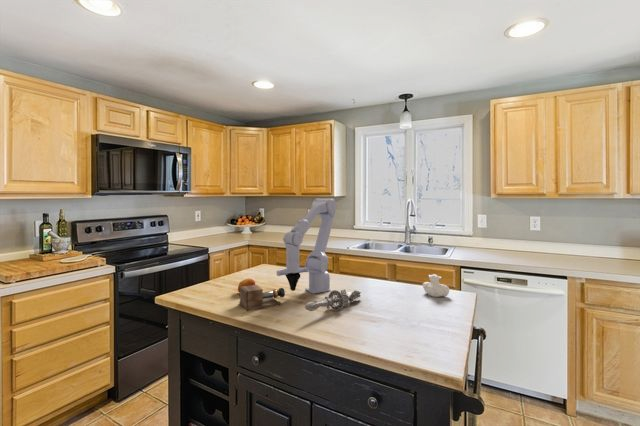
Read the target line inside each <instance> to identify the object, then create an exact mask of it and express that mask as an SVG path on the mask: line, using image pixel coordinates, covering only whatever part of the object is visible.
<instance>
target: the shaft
mask: <svg viewBox="0 0 640 426" xmlns="http://www.w3.org/2000/svg"><path fill="white" fill-rule="evenodd" d="M285 293H286V291H285V289H284V288H283V287H279V288H278V289H273V290H271V291H265V292H263V299H265V298H271V297H273V298H274V299H278V298H284V297H285V295H286V294H285Z"/></svg>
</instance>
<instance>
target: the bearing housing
mask: <svg viewBox="0 0 640 426" xmlns="http://www.w3.org/2000/svg"><path fill="white" fill-rule="evenodd" d="M263 291H264V290H263V288H262V287H261V286H259V285H258V284H255V285H250V286H243V287H240V292H239V299H240V300H239V305H240V306H241V307H242V308H243V309H244V310H245V312H252V311H258V310H262V309H263V310H264V309H267V308H269V309H270V308H273V307H277V306H281V303H280V301H278V300H276V298H274V297H271V298H265V299H263V293H264V292H263Z"/></svg>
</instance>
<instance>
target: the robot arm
mask: <svg viewBox="0 0 640 426" xmlns="http://www.w3.org/2000/svg"><path fill="white" fill-rule="evenodd" d="M337 206H338V205H337V204H336V200H335V198H318V197H317V198H315V199H314V200H313V202H312V203H311V208H310V209H309V210H308V212H307V214H306V215H305V217H303V219H298V221H297V223H296V224H295V225H294V226H293V227H292V228H291V230H290V231H287V232H286V233H285V234H284V236H283V239H282V240H283V243H284V247H285V249H286V250H285V251H286V252H285V253H286V257H285V258H286V260H285V261H286V263H285V264H286V266H285V267H286V268H284V269H279V270H276V276H277V277H280V276H285V278H286V279H287V281H288V284H289V287H290V288H289V289H290V291H292V292H293V291H296V289H297V288H296V287H297V285H298V283H299V280H300V278H301V274H302V273H308V287H306V288H305V290H306V291H308V292H310V293H311V294H314V295H315V294H318V293H319V294H320V293H326V292H331V289H330V285H331V284H330V282H331V281H330V279H331V278H330V277H331V276H330V274H329V272H328V267H329V257H328V256H327V254H326V251H327V246H328V242H329V239H330V235H331V230H332V227H333V222H334V218H335V215H336V212H337V211H336V210H337ZM317 216H319V217H320V218H321V222H320V225H319V229H318V230H319V231H318V234H317V238H316V241H315V244H314V245H315V246H314V249H313V250H312V251H311V252H309V253H308V256H307V258H306V260H305V263H304V265H305V266H304V267H301V266H300V253H301V252H300V245H301V244H302V243H303V241H304V240H303V239H304V238H305V235H306V233H307V232H308V230H309V229H310V228H311V223H312V222H313V221H314V220H315V218H316V217H317Z"/></svg>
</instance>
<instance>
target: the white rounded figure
mask: <svg viewBox="0 0 640 426" xmlns="http://www.w3.org/2000/svg"><path fill="white" fill-rule="evenodd" d="M428 278H429V281H430V282H429V281H425V282H422V284H421V286H422V288H423V289H424V292H425V293H426V294H427V295H429V296H431V297H433V298H434V297H435V298H438V297H448V296H449V293H450V288H449V286H448V285H446V284H441V283H440V279H442V276H439V275H437V274H435V273H432V274H428Z"/></svg>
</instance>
